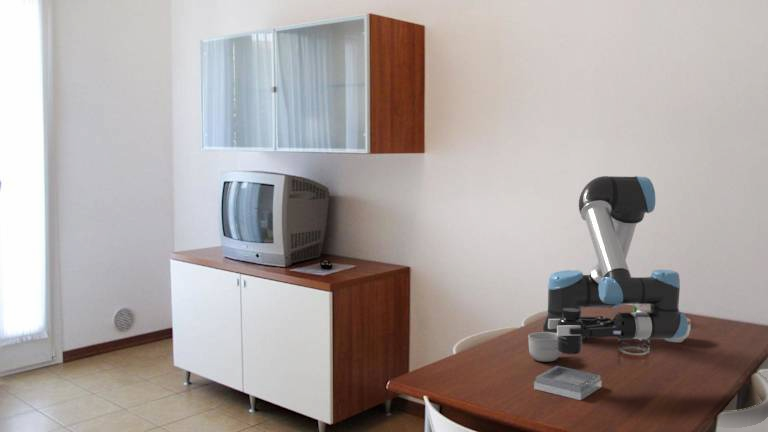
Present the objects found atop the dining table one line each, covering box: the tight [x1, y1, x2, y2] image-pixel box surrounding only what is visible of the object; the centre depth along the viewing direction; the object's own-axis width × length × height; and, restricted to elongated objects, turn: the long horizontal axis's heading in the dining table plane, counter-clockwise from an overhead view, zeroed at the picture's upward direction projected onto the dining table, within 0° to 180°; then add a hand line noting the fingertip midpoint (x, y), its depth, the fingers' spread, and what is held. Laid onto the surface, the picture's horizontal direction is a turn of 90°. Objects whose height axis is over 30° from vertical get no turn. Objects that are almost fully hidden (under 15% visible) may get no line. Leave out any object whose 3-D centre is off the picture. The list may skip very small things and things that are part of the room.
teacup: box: [527, 331, 562, 363], centre depth 234 cm, size 14×11×8 cm
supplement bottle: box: [557, 308, 583, 355], centre depth 205 cm, size 7×7×12 cm
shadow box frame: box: [533, 365, 603, 401], centre depth 207 cm, size 14×14×4 cm
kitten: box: [632, 304, 651, 312], centre depth 286 cm, size 15×10×15 cm
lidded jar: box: [664, 317, 692, 343], centre depth 257 cm, size 11×11×9 cm
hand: (553, 327), depth 204 cm, fingers closed on supplement bottle, 7 cm apart
